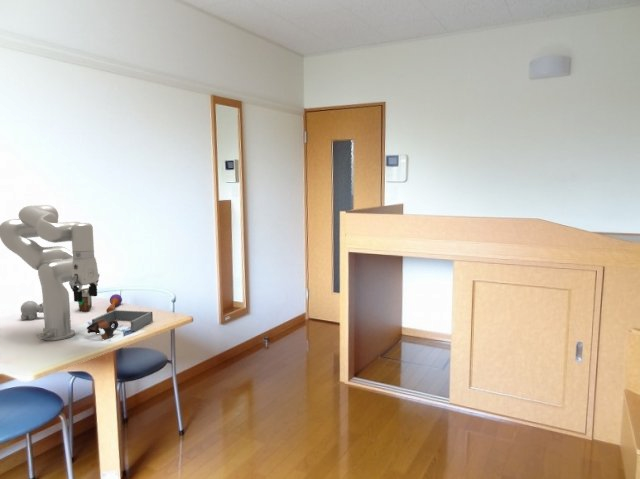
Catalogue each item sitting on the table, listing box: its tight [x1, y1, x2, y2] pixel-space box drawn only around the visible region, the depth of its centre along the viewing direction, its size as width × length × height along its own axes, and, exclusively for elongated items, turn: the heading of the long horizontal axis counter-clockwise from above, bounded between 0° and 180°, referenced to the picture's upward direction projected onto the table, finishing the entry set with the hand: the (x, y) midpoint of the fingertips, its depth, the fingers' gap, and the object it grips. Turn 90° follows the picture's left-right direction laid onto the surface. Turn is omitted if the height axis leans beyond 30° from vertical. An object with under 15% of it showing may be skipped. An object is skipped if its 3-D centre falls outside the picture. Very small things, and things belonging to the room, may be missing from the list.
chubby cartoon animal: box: [20, 300, 44, 321], centre depth 224 cm, size 7×12×8 cm, turn 101°
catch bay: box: [91, 309, 154, 332], centre depth 213 cm, size 16×19×4 cm
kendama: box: [105, 293, 123, 313], centre depth 243 cm, size 6×6×20 cm
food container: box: [77, 287, 93, 313], centre depth 239 cm, size 12×6×10 cm, turn 17°
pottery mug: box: [86, 319, 119, 340], centre depth 198 cm, size 12×10×8 cm
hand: (86, 298), depth 187 cm, fingers open, 8 cm apart
